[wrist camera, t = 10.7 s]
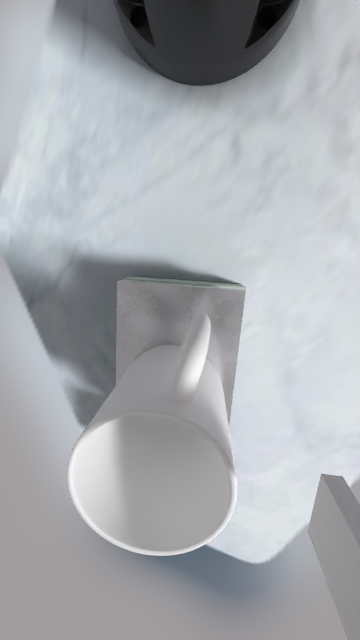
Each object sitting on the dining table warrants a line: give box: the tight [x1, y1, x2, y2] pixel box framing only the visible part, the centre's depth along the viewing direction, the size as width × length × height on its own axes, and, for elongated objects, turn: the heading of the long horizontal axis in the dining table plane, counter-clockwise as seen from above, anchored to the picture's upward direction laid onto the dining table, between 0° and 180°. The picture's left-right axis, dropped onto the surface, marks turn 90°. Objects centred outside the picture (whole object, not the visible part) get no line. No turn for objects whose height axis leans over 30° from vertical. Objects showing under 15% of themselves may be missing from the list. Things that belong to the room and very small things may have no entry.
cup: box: [67, 313, 237, 556], centre depth 17 cm, size 8×12×10 cm
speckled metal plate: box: [115, 280, 245, 425], centre depth 24 cm, size 14×10×3 cm
